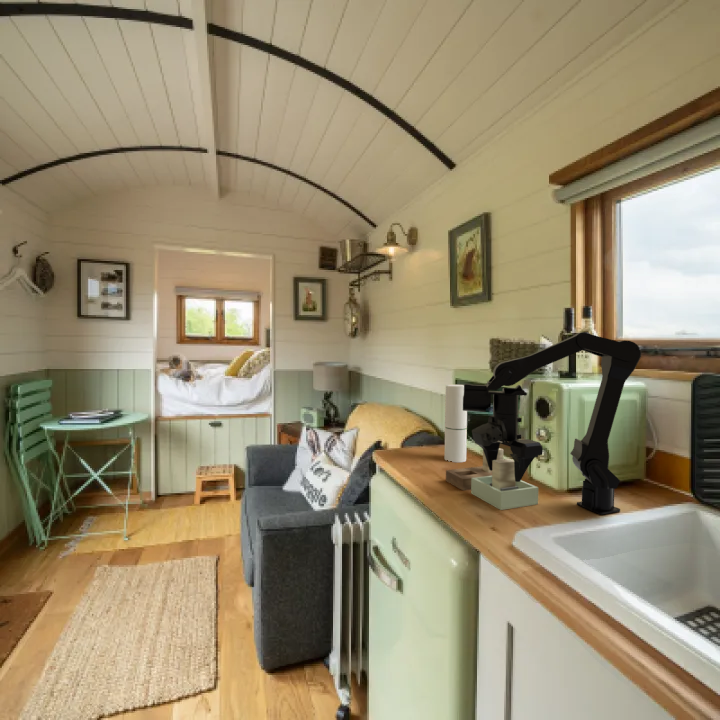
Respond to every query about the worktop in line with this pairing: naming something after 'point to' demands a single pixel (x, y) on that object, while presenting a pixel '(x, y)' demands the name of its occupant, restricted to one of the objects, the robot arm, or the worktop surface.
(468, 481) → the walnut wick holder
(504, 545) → the worktop surface
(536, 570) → the worktop surface
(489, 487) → the green open tray
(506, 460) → the block
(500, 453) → the block
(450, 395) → the cylindrical container
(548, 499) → the worktop surface
